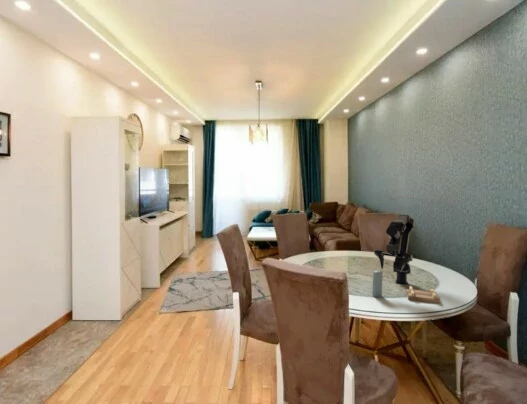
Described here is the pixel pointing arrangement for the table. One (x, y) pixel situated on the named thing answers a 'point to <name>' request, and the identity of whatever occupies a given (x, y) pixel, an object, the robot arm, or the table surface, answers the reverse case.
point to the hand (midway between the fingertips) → (390, 270)
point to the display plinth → (422, 295)
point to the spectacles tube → (377, 283)
